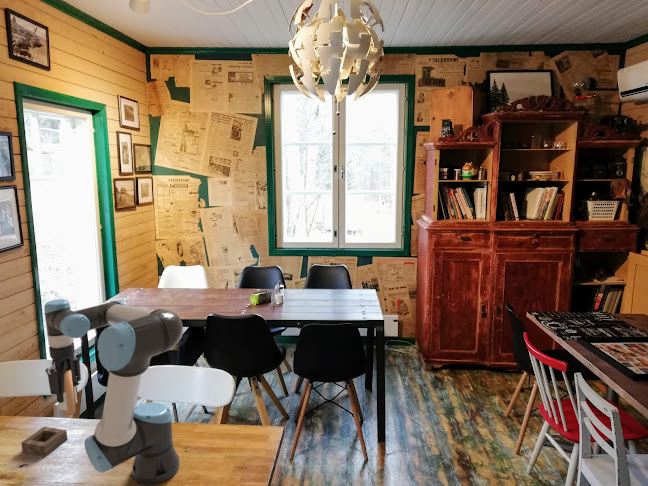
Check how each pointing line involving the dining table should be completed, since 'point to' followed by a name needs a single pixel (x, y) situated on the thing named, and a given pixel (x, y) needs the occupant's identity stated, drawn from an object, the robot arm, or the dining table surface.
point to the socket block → (44, 448)
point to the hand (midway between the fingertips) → (68, 405)
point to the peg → (69, 393)
